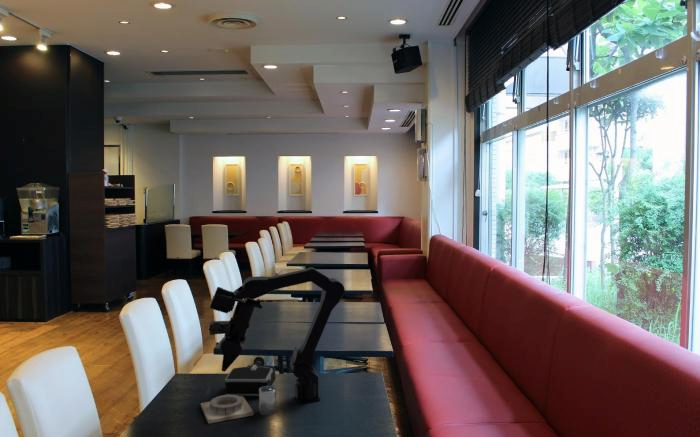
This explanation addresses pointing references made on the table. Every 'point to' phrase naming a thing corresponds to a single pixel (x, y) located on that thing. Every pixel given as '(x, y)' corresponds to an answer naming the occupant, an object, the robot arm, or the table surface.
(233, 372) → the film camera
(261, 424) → the table surface
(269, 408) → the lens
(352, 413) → the table surface
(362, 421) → the table surface
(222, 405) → the mount
